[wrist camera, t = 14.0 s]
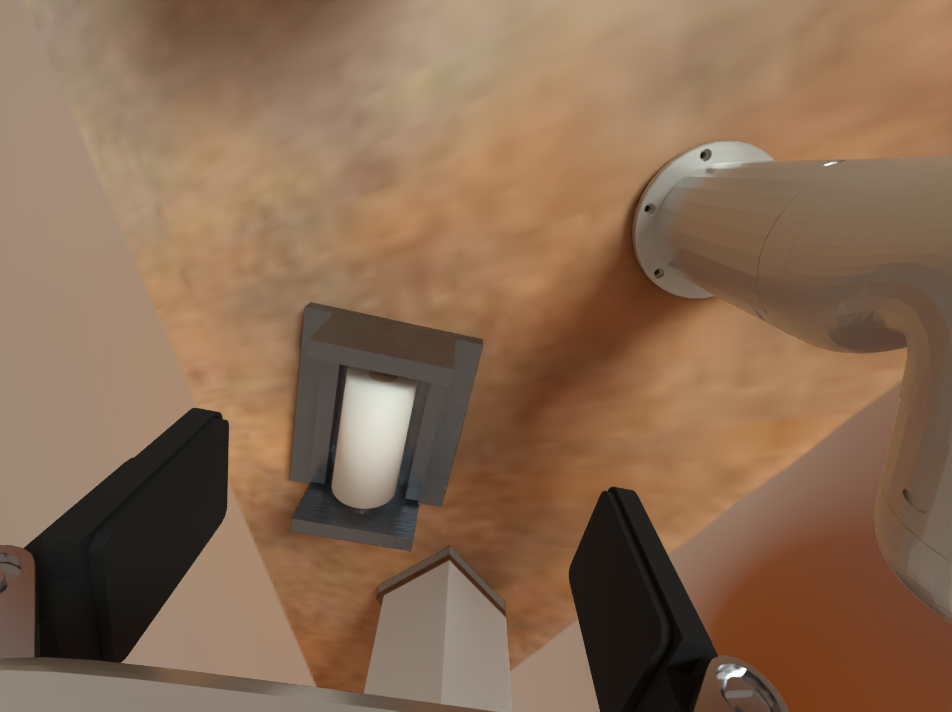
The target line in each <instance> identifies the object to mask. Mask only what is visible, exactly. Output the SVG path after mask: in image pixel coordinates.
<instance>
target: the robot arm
mask: <svg viewBox="0 0 952 712" xmlns="http://www.w3.org/2000/svg"><path fill="white" fill-rule="evenodd" d="M701 152H702V153H703V157H702V158H700V154H701ZM647 205H648V206H649V209H648V211H645V207H646V206H647ZM632 241H633V247H634V253H635V256H636V258H637V261H638V263H639V265H640V267H641V269H642V270H643V272H644V273H645V275H646V276H647V277H648V278H649V279H650V280H651V281H652V282H653V283H654V284H656V285H657V286H659V287H660V288H662V289H663V290H665V291H667V292H669V293H671V294H674V295H676V296H681V297H685V298H696V299H702V298H709V297H715V296H717V297H719V298H721V299H723V300H725V301H726V302H728V303H730V304H732V305H734V306H736V307H738V308H740V309H742V310H744V311H746V312H747V313H749V314H751V315H753V316H755V317H757V318H759V319H761V320H763V321H765V322H767V323H769V324H770V325H772V326H774V327H776V328H778V329H780V330H782V331H784V332H786V333H788V334H790V335H792V336H794V337H796V338H798V339H800V340H802V341H804V342H807V343H809V344H811V345H814V346H816V347H819V348H822V349H826V350H830V351H835V352H841V353H855V354H867V353H878V352H885V351H891V350H897V349H902V348H906V347H907V359H906V365H905V371H904V375H903V380H902V384H901V388H900V394H899V396H900V402H899V406H898V410H897V414H896V418H895V422H894V426H893V430H892V435H891V438H890V442H889V447H888V451H887V455H886V459H885V463H884V467H883V471H882V476H881V481H880V485H879V490H878V494H877V501H876V507H875V529H876V535H877V540H878V543H879V546H880V549H881V551H882V553H883V555H884V558H885V559H886V561H887V563H888V565H889V566H890V567H891V569H892V570H893V571H894V573H895V574H896V575H897V577H898V578H899V579H900V580H901V582H902V583H903V584H904V585H905V586H906V587H907V588H908V589H909V590H910V591H911V592H912V593H913V594H914V595H915V596H916V597H918V598H919V599H920V600H921V601H922V602H923V603H925V604H926V605H927V606H928V607H929V608H930V609H932V610H933V611H934V612H936V613H937V614H938V615H940V616H941V617H943V618H944V619H946V620H947V621H949V622H950V623H952V155H949V156H930V157H907V158H875V159H834V160H794V161H775V160H774V159H773V158H772V157H771V156H770V155H768V154H767V153H766V152H764V151H763V150H762V149H760V148H758V147H756V146H753V145H751V144H748V143H745V142H738V141H732V140H731V141H716V142H710V143H704V144H701V145H698V146H695V147H693V148H690V149H688V150H686V151H684V152H682V153H681V154H679V155H677V156H676V157H674V158H673V159H672V160H670V161H669V162H668V163H667V164H666V165H664V166H663V167H662V168H661V169H660V170H659V171H658V172H657V174H656V175H655V176H654V177H653V178H652V179H651V181H650V182H649V184H648V185H647V187H646V189H645V190H644V192H643V194H642V195H641V198H640V200H639V203H638V205H637V208H636V211H635V215H634V220H633V227H632ZM657 269H658V272H657V273H656V274H654V272H655V271H656V270H657ZM228 443H229V423H228V421H227V420H224V419H222V415H221V413H219V412H215V411H210V410H205V409H199V408H192V409H191V410H189V411H188V412H187V413H186V414H185V415H184V416H182V417H181V418H180V419H179V420H178V421H176V422H175V423H174V424H173V425H172V426H171V427H169V428H168V429H167V430H166V431H165V432H164V433H163V434H161V435H160V436H159V437H158V438H157V439H155V440H154V441H153V442H152V443H151V444H150V445H148V446H147V447H146V448H145V449H144V450H143V451H141V452H140V453H139V454H138V455H137V456H136V457H134V458H131V459H129V460H128V461H127V462H125V463H124V464H122V465H121V466H120V467H119V468H118V469H117V470H116V471H114V472H113V473H112V474H111V475H109V476H108V477H107V478H106V479H105V480H104V481H102V482H101V483H100V484H99V485H98V486H96V487H95V488H94V489H93V490H92V491H91V492H89V493H88V494H87V495H86V496H85V497H83V498H82V499H81V500H80V501H79V502H78V503H76V504H75V505H74V506H73V507H72V508H70V509H69V510H68V511H67V512H66V513H65V514H63V515H62V516H61V517H60V518H59V519H57V520H56V521H55V522H54V523H53V524H52V525H51V526H49V527H48V528H47V529H46V530H44V531H43V532H42V533H41V534H40V535H39V536H37V537H36V538H35V539H34V540H33V541H31V542H30V543H29V544H28V545H27V546H26V547H24V548H21V547H16V546H12V545H0V712H496V711H489V710H481V709H474V708H467V707H460V706H453V705H445V704H438V703H431V702H423V701H416V700H408V699H401V698H394V697H386V696H379V695H371V694H364V693H356V692H349V691H341V690H334V689H326V688H319V687H311V686H304V685H296V684H288V683H280V682H272V681H265V680H257V679H249V678H240V677H233V676H226V675H218V674H210V673H202V672H195V671H187V670H179V669H169V668H160V667H151V666H142V665H133V664H124V663H121V662H122V661H123V660H124V659H125V658H126V657H127V656H128V655H129V653H130V652H131V650H132V649H133V647H134V646H135V645H136V643H137V642H138V640H139V639H140V637H141V636H142V635H143V633H144V632H145V630H146V629H147V628H148V626H149V625H150V623H151V622H152V621H153V619H154V618H155V616H156V615H157V614H158V612H159V611H160V609H161V608H162V606H163V605H164V604H165V602H166V601H167V599H168V598H169V596H170V595H171V594H172V592H173V591H174V589H175V588H176V587H177V585H178V584H179V582H180V581H181V580H182V578H183V577H184V575H185V574H186V573H187V571H188V570H189V568H190V567H191V565H192V564H193V563H194V561H195V560H196V558H197V557H198V556H199V554H200V553H201V551H202V550H203V548H204V547H205V546H206V544H207V543H208V541H209V540H210V539H211V537H212V536H213V534H214V533H215V531H216V530H217V528H218V527H219V526H220V524H221V523H222V521H223V519H224V517H225V514H226V510H227V487H228ZM569 581H570V586H571V590H572V594H573V598H574V603H575V607H576V611H577V615H578V620H579V624H580V628H581V632H582V637H583V641H584V645H585V649H586V654H587V658H588V662H589V666H590V671H591V675H592V679H593V683H594V687H595V692H596V696H597V700H598V704H599V709H600V712H789V711H788V709H787V706H786V704H785V702H784V700H783V699H782V697H781V696H780V694H779V693H778V691H777V690H776V689H775V688H774V686H773V685H772V684H771V683H770V682H769V681H768V680H767V679H766V678H765V677H764V676H763V675H762V674H761V673H759V672H758V671H757V670H756V669H755V668H753V667H751V666H750V665H748V664H747V663H745V662H743V661H742V660H739V659H736V658H733V657H731V656H718V655H717V653H716V651H715V649H714V647H713V645H712V642H711V640H710V638H709V636H708V634H707V632H706V630H705V628H704V626H703V624H702V622H701V620H700V618H699V616H698V614H697V612H696V610H695V608H694V606H693V604H692V602H691V600H690V598H689V596H688V594H687V593H686V590H685V588H684V586H683V584H682V582H681V581H680V578H679V577H678V574H677V572H676V571H675V569H674V567H673V565H672V563H671V561H670V559H669V557H668V555H667V553H666V551H665V549H664V547H663V545H662V543H661V541H660V539H659V537H658V535H657V533H656V531H655V529H654V527H653V525H652V523H651V521H650V519H649V517H648V515H647V513H646V511H645V509H644V507H643V505H642V503H641V501H640V499H639V497H638V495H637V494H636V492H635V491H633V490H628V489H623V488H617V487H611V488H609V490H608V491H603V492H602V493H601V495H600V497H599V499H598V502H597V504H596V506H595V509H594V511H593V513H592V516H591V518H590V520H589V523H588V525H587V527H586V530H585V532H584V535H583V537H582V539H581V542H580V544H579V546H578V549H577V551H576V553H575V556H574V558H573V560H572V563H571V565H570V569H569Z"/></svg>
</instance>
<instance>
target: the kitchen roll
mask: <svg viewBox="0 0 952 712" xmlns="http://www.w3.org/2000/svg"><path fill="white" fill-rule="evenodd" d="M417 383H418V380H415V379H410V378H405V377H400V376H395V375H391V374H386V373H381V372H376V371H371V370H366V369H361V368H356V367H351V366H350V367H349V368H348V370H347V375H346V382H345V390H344V397H343V404H342V412H341V419H340V427H339V434H338V442H337V449H336V457H335V464H334V471H333V479H332V491H333V494H334V495H335V497H336V498H337V499H338V500H339V501H341V502H342V503H344V504H346V505H348V506H351V507H354V508H360V509H370V508H376V507H379V506H382V505H384V504H386V503H387V502H389V501H390V500H391V499H392V498H393V496H394V494H395V491H396V486H397V481H398V476H399V471H400V466H401V461H402V456H403V451H404V446H405V441H406V437H407V432H408V427H409V422H410V417H411V412H412V407H413V402H414V397H415V392H416V387H417Z"/></svg>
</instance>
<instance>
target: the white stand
mask: <svg viewBox="0 0 952 712" xmlns="http://www.w3.org/2000/svg"><path fill="white" fill-rule="evenodd" d="M376 600H377V601H378V602H379V603H380V604H382V607H381V612H380V617H379V621H378V626H377V631H376V636H375V641H374V646H373V650H372V655H371V660H370V665H369V670H368V675H367V679H366V684H365V689H364V694H371V695H379V696H386V697H394V698H401V699H408V700H416V701H423V702H431V703H438V704H445V705H453V706H460V707H467V708H474V709H481V710H489V711H496V712H513V707H512V692H511V679H510V666H509V653H508V639H507V626H506V613H505V602H504V601H503V600H502V599H501V598H500V597H499V596H498V595H497V594H496V593H495V592H494V591H493V590H492V589H491V588H490V587H489V586H488V585H487V584H486V583H485V582H484V580H483V579H482V578H481V577H480V576H479V575H478V574H477V573H476V572H475V571H474V570H473V569H472V568H471V567H470V566H469V565H468V564H467V563H466V562H465V561H464V560H463V559H462V558H461V557H460V556H459V555H458V554H457V553H456V552H455V550H454V549H453V548H452V547H451V546H449V547H447V548H445V549H444V550H442V551H440V552H438V553H436V554H435V555H433V556H431V557H429V558H427V559H425V560H424V561H422V562H420V563H418V564H416V565H414V566H413V567H411V568H409V569H407V570H405V571H403V572H402V573H400V574H398V575H396V576H394V577H393V578H391V579H389V580H387V581H385V582H383V583H382V584H380V585H379V589H378V594H377V598H376Z"/></svg>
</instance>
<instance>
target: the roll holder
mask: <svg viewBox="0 0 952 712" xmlns="http://www.w3.org/2000/svg"><path fill="white" fill-rule="evenodd" d="M482 347H483V339H478V338H474V337H469V336H464V335H460V334H455V333H451V332H446V331H441V330H437V329H432V328H427V327H423V326H418V325H413V324H409V323H404V322H400V321H395V320H390V319H386V318H381V317H376V316H372V315H367V314H362V313H358V312H353V311H349V310H344V309H339V308H335V307H330V306H325V305H321V304H316V303H312V302H310V303H309V304H308V305H307V306H305V311H304V322H303V333H302V344H301V356H300V367H299V378H298V390H297V401H296V412H295V424H294V435H293V446H292V458H291V469H290V480H293V481H298V482H304V483H310V484H309V486H308V488H307V490H306V492H305V494H304V496H303V497H302V499H301V501H300V503H299V505H298V507H297V509H296V511H295V513H294V515H293V517H292V520H291V531H292V532H298V533H304V534H310V535H316V536H322V537H328V538H334V539H340V540H346V541H352V542H358V543H364V544H370V545H376V546H382V547H388V548H394V549H400V550H406V551H411V548H412V543H413V539H414V533H415V526H416V520H417V514H418V507H419V503H422V504H428V505H434V506H439V507H442V503H443V499H444V495H445V491H446V488H447V484H448V480H449V476H450V472H451V468H452V464H453V460H454V456H455V453H456V449H457V445H458V441H459V437H460V433H461V429H462V425H463V421H464V417H465V414H466V410H467V406H468V402H469V398H470V394H471V390H472V386H473V382H474V379H475V375H476V371H477V367H478V363H479V359H480V355H481V351H482ZM350 366H351V367H356V368H361V369H366V370H371V371H376V372H381V373H386V374H391V375H395V376H400V377H405V378H410V379H415V380H418V383H417V387H416V392H415V397H414V402H413V407H412V412H411V417H410V422H409V427H408V432H407V437H406V441H405V446H404V451H403V456H402V461H401V466H400V471H399V476H398V481H397V486H396V491H395V494H394V496H393V498H392V499H391V500H390V501H389V502H387V503H386V504H384V505H382V506H379V507H376V508H370V509H360V508H354V507H351V506H348V505H346V504H344V503H342V502H341V501H339V500H338V499H337V498H336V497H335V495H334V494H333V491H332V479H333V471H334V464H335V457H336V449H337V442H338V434H339V427H340V419H341V412H342V404H343V397H344V390H345V382H346V375H347V370H348V368H349V367H350Z"/></svg>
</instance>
